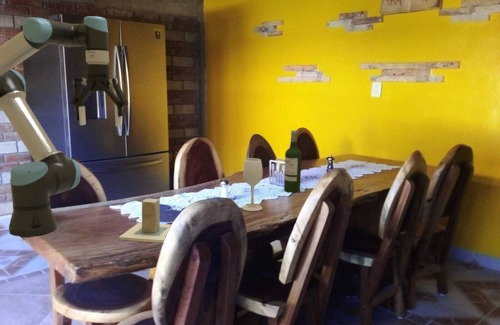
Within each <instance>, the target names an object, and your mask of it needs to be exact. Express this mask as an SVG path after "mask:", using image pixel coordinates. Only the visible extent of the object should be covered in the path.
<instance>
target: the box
mask: <svg viewBox="0 0 500 325" xmlns="http://www.w3.org/2000/svg"><path fill="white" fill-rule="evenodd" d="M160 204H161V199H159V198H145V199H143V200H142V201H141V223H142V232H148V233H156V232H157V231H159V230H160V224H161V223H160V222H161V220H160V219H161V218H160V217H161V215H160V214H161V209H160V208H161V205H160Z"/></svg>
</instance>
